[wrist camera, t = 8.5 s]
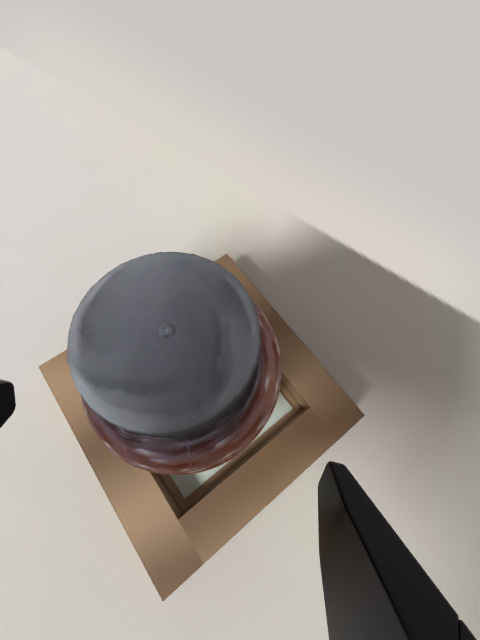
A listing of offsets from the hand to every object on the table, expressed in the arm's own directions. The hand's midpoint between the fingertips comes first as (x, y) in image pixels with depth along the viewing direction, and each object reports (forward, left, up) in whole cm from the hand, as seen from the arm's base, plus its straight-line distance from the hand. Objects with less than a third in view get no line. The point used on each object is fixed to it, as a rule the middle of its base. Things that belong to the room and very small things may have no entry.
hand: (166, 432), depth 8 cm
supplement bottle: (+1, -1, -8) cm, 9 cm away
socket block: (+1, -2, -9) cm, 9 cm away
